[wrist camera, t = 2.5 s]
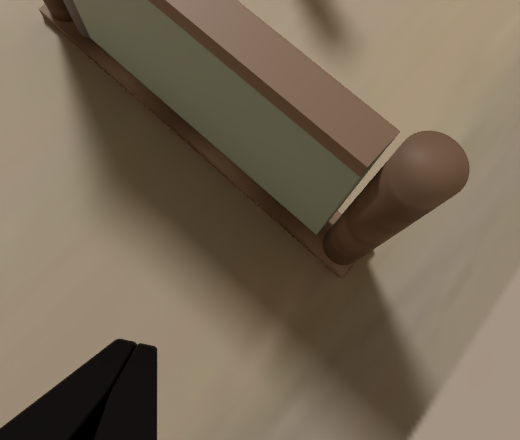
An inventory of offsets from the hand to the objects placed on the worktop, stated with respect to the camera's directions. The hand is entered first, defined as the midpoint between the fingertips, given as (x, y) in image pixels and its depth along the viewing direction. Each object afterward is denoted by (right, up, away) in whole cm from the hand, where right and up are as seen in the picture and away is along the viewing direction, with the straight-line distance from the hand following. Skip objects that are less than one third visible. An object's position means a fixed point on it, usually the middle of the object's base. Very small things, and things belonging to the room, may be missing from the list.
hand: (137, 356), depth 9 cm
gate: (-1, +8, +14) cm, 16 cm away
